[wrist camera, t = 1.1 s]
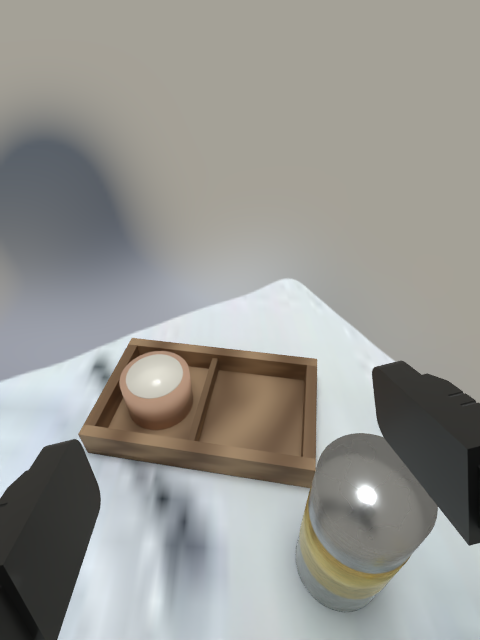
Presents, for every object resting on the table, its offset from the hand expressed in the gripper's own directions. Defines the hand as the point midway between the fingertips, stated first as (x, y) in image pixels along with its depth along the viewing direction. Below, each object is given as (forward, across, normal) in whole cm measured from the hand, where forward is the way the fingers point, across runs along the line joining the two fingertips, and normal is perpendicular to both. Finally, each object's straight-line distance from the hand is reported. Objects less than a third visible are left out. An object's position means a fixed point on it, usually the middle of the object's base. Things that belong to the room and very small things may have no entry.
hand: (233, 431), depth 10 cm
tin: (+11, -4, +20) cm, 24 cm away
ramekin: (+25, +8, +12) cm, 29 cm away
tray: (+24, +3, +14) cm, 28 cm away
